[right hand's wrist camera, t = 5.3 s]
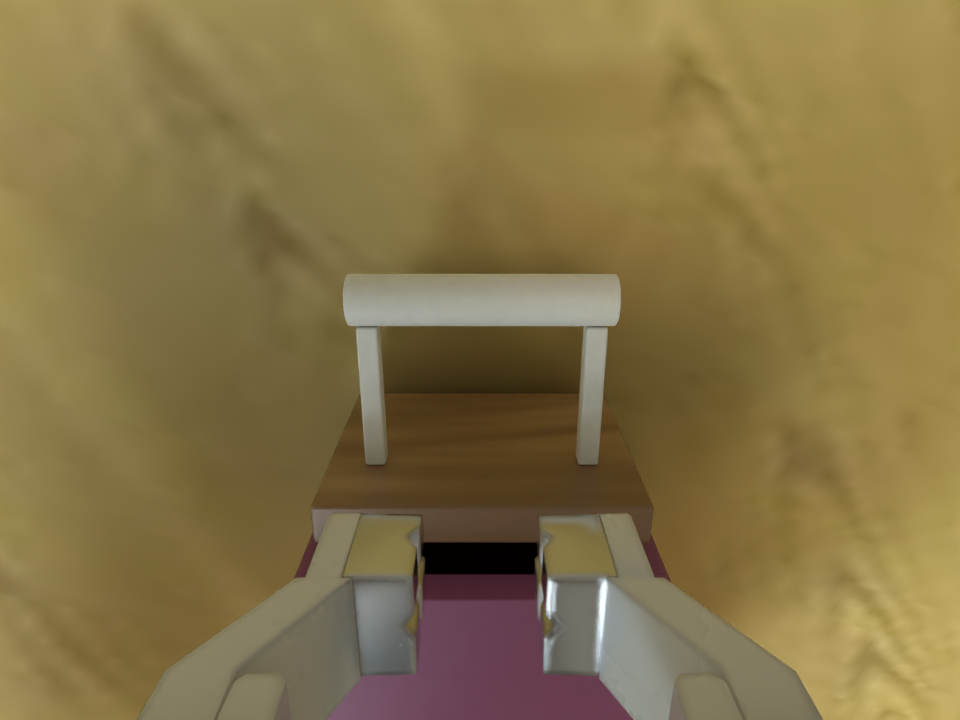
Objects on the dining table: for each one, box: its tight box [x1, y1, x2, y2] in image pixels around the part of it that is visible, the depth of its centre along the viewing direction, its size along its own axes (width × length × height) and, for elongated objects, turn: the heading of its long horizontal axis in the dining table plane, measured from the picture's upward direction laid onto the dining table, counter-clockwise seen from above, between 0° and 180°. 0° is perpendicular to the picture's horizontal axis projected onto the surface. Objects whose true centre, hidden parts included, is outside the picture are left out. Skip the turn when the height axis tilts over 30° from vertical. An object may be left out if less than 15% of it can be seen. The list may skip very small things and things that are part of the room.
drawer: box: [310, 274, 653, 574], centre depth 23 cm, size 25×9×7 cm, turn 0°
